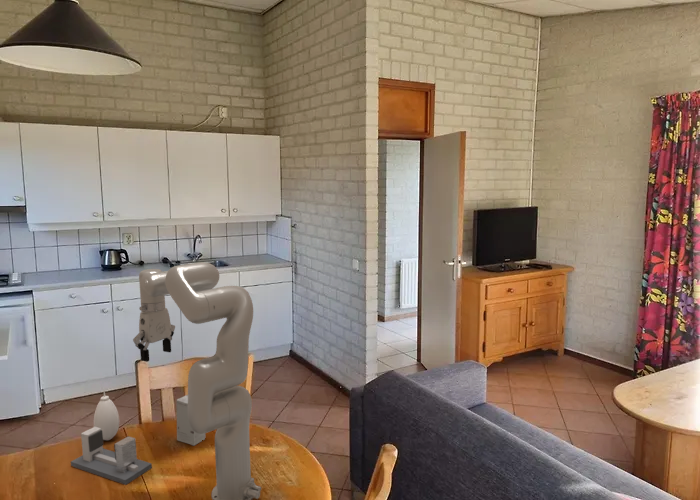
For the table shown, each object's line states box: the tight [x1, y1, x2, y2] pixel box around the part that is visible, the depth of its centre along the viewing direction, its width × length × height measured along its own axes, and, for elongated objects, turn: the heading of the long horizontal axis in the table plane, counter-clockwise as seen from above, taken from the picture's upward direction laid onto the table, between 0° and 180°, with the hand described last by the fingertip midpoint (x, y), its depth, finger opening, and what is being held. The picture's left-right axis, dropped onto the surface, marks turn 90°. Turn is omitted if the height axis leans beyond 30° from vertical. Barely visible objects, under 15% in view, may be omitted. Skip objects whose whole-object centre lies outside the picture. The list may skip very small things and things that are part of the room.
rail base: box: [70, 426, 153, 486], centre depth 164 cm, size 24×10×10 cm, turn 64°
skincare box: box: [176, 394, 206, 446], centre depth 180 cm, size 8×6×15 cm
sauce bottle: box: [93, 389, 120, 441], centre depth 181 cm, size 8×8×18 cm
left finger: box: [113, 436, 138, 473], centre depth 161 cm, size 4×5×9 cm
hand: (156, 356), depth 176 cm, fingers open, 9 cm apart
